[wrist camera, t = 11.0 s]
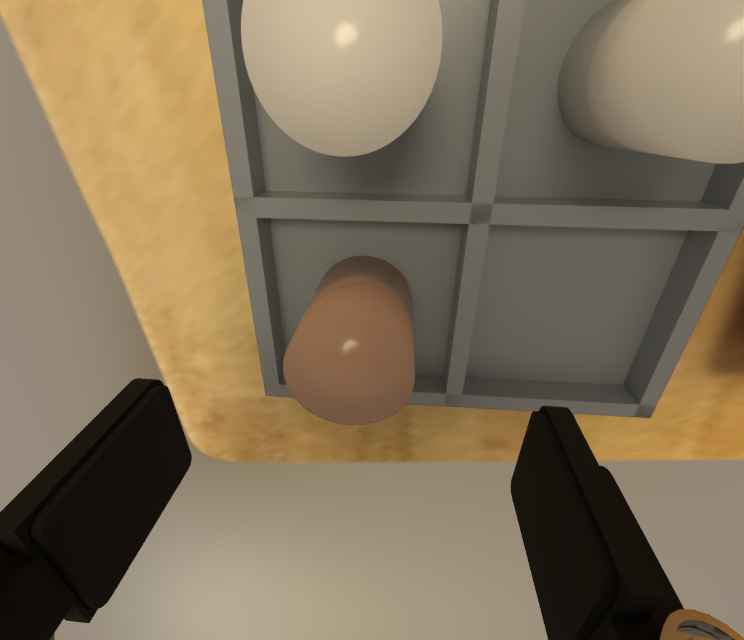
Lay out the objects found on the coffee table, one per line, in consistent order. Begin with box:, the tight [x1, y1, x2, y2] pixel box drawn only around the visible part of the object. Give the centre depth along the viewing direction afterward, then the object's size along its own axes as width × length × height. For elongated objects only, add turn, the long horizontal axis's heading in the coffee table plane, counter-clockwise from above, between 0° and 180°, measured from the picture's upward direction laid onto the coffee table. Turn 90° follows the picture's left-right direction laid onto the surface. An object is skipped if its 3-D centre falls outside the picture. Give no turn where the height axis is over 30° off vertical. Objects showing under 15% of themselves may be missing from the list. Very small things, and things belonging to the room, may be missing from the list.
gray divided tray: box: [202, 0, 744, 418], centre depth 15 cm, size 19×19×2 cm
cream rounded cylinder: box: [558, 0, 744, 164], centre depth 11 cm, size 5×5×6 cm
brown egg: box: [283, 256, 415, 425], centre depth 16 cm, size 5×5×6 cm
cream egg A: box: [241, 0, 443, 157], centre depth 11 cm, size 5×5×6 cm
